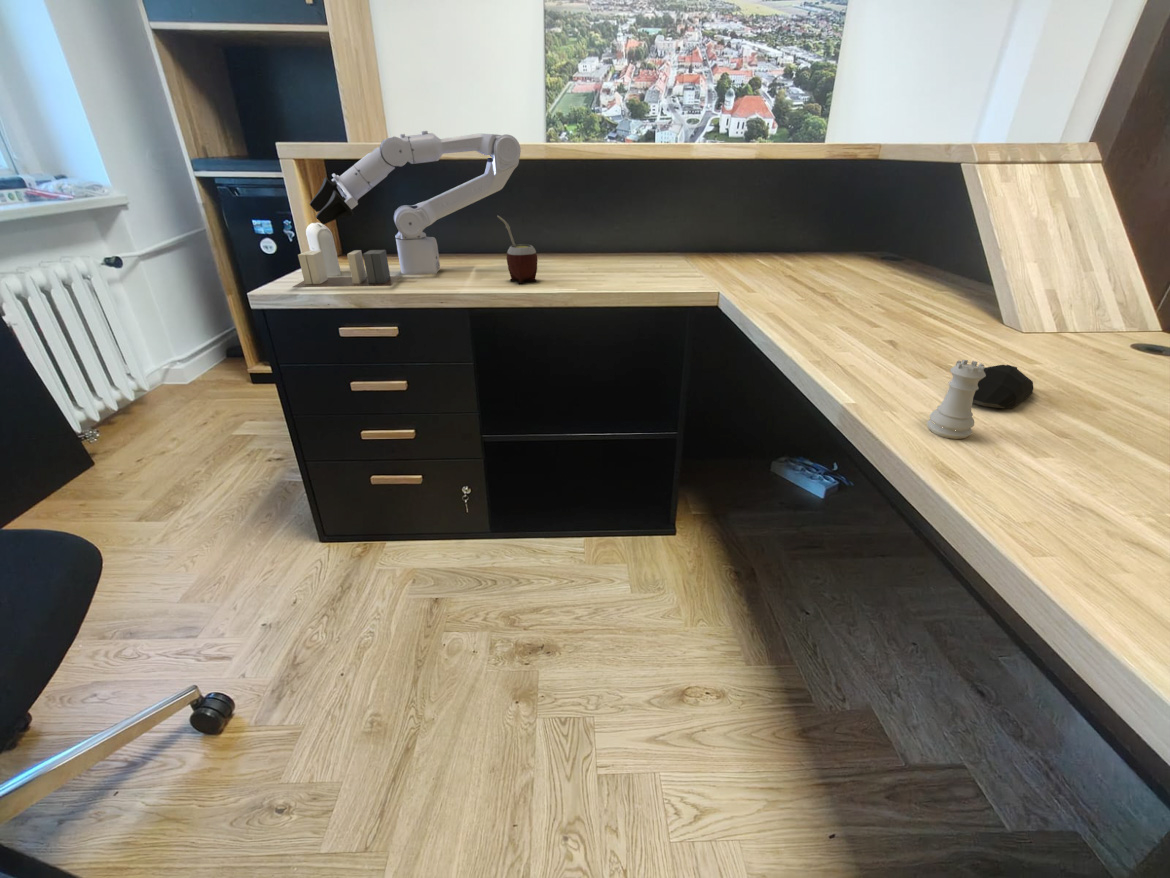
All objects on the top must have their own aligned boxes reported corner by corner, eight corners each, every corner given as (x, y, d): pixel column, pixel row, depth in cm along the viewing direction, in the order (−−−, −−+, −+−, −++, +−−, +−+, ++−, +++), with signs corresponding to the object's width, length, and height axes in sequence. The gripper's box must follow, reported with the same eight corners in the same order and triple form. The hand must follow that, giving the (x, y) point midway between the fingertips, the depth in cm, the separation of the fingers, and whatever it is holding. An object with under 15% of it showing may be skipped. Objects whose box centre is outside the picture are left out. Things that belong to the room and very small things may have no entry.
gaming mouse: (1049, 387, 73) (1062, 358, 71) (1001, 416, 66) (1014, 385, 64) (996, 373, 78) (1006, 345, 76) (946, 399, 70) (955, 369, 68)
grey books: (390, 278, 131) (385, 249, 128) (384, 283, 127) (379, 253, 123) (374, 278, 131) (369, 250, 128) (368, 283, 126) (362, 253, 123)
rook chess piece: (921, 420, 65) (941, 355, 61) (964, 424, 64) (988, 358, 60) (930, 437, 61) (952, 369, 57) (976, 442, 60) (1002, 373, 56)
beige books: (328, 279, 131) (321, 250, 127) (320, 284, 126) (313, 254, 123) (313, 279, 130) (306, 250, 127) (304, 284, 126) (297, 254, 123)
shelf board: (402, 279, 134) (402, 276, 133) (391, 289, 125) (390, 285, 124) (310, 280, 133) (309, 277, 133) (292, 290, 124) (291, 287, 124)
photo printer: (313, 273, 140) (301, 221, 134) (330, 271, 143) (319, 220, 137) (326, 280, 133) (313, 225, 127) (344, 277, 136) (332, 224, 130)
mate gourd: (541, 278, 133) (538, 211, 126) (533, 286, 126) (530, 215, 119) (511, 277, 134) (506, 211, 127) (502, 285, 127) (496, 215, 120)
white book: (366, 278, 131) (361, 250, 128) (359, 283, 126) (354, 254, 123) (359, 278, 131) (354, 250, 128) (352, 283, 126) (346, 254, 123)
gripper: (342, 151, 127) (296, 188, 127) (357, 172, 118) (308, 212, 118) (364, 177, 132) (320, 213, 132) (380, 199, 123) (332, 237, 124)
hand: (316, 214), depth 126 cm, fingers open, 7 cm apart
